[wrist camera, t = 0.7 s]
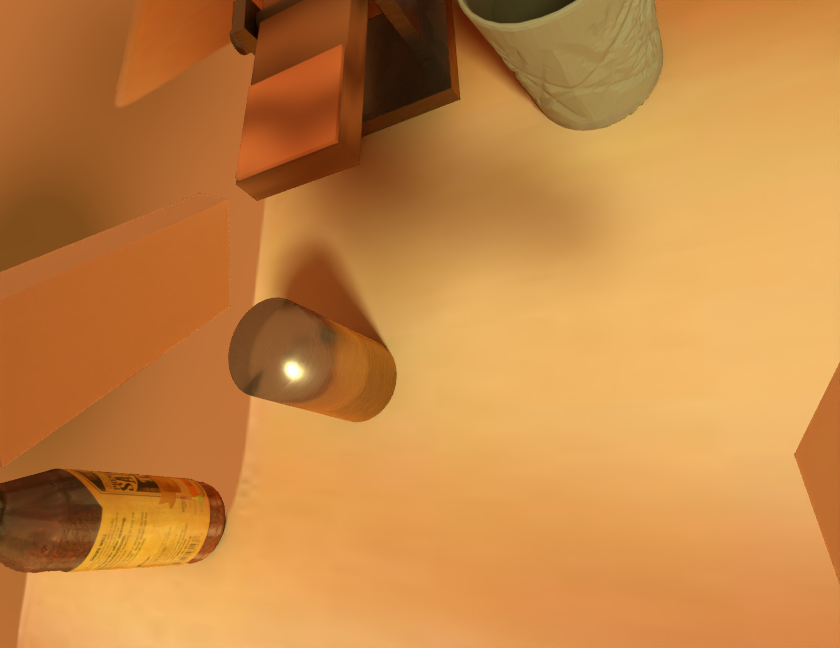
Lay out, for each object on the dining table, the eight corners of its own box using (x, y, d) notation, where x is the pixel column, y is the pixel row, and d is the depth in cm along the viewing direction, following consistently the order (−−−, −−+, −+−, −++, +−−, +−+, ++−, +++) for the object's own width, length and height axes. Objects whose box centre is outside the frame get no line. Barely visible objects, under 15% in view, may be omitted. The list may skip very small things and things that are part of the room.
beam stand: (312, 61, 58) (223, -28, 49) (451, -3, 52) (381, -118, 43) (311, 156, 55) (216, 79, 46) (460, 99, 49) (385, -2, 40)
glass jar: (352, 326, 48) (260, 283, 39) (411, 361, 44) (325, 321, 36) (313, 397, 48) (213, 369, 39) (369, 437, 44) (273, 415, 36)
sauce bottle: (232, 477, 49) (-49, 450, 32) (227, 564, 47) (-76, 582, 30) (172, 482, 52) (-115, 460, 35) (164, 565, 50) (-144, 581, 33)
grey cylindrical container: (709, 48, 40) (686, -113, 30) (596, 171, 42) (538, 56, 32) (592, -8, 46) (539, -161, 36) (496, 103, 47) (419, -14, 37)
